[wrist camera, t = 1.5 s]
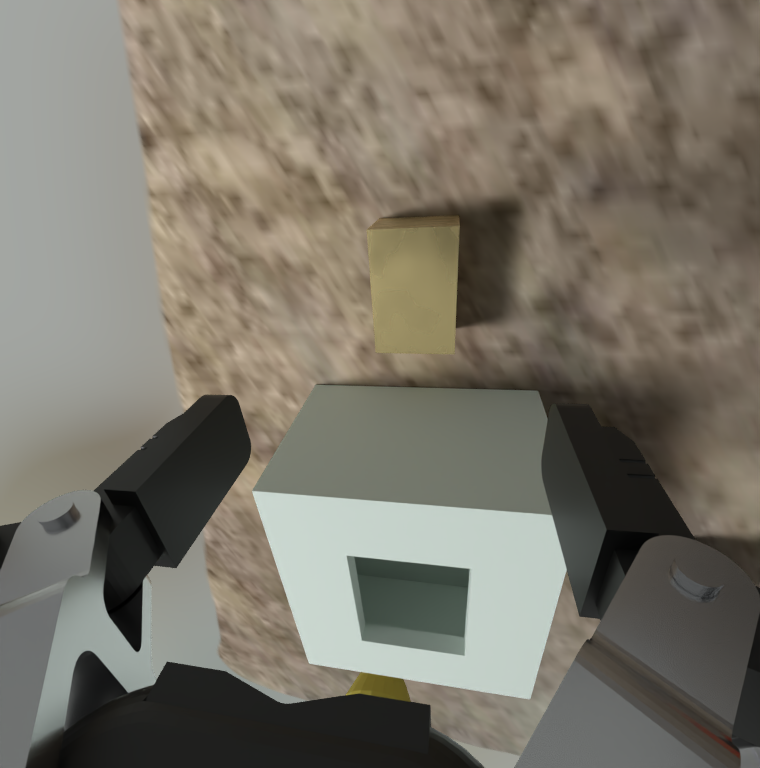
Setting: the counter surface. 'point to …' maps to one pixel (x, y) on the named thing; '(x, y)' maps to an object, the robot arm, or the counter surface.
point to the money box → (417, 533)
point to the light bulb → (380, 686)
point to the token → (414, 283)
